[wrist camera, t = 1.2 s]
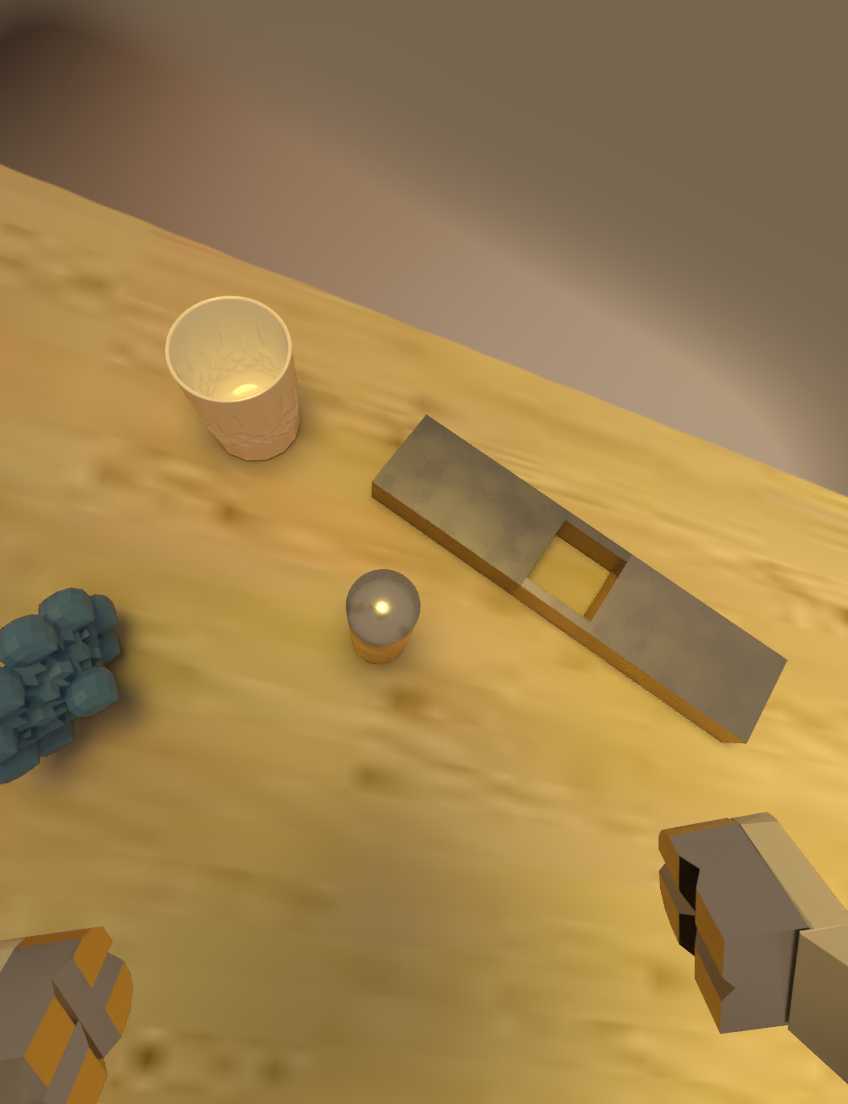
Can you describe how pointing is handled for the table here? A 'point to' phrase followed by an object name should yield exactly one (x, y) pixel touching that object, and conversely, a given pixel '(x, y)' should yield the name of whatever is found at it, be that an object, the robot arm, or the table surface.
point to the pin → (381, 614)
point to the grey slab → (620, 606)
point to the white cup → (237, 374)
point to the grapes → (53, 676)
